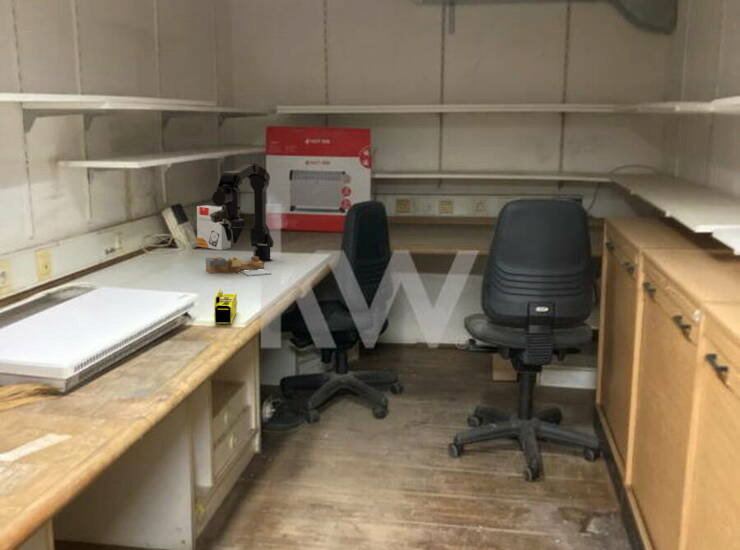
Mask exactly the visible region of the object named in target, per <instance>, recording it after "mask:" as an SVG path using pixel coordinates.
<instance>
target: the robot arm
mask: <svg viewBox="0 0 740 550" xmlns="http://www.w3.org/2000/svg"><path fill="white" fill-rule="evenodd" d="M245 179H248V180H249V185H250V187H251V189H252V191H253V203H254V204H253V205H254V206H253V207H254V208H253V209H254V211H253V212H254V224H253V226H252V227H251V228H250V236H249V239H250V244H251V247H254V249H253V257H255V256H257V257H259V260H260V261H262V262H266V261H267V262H269V261H270V262H271V261H272V259H271V248H273V247H274V244H275V243H274V239H273V238H272V236H271V230H270V228H269V226H268V225H267V222H266V221H267V217H266V216H267V215H266V213H267V210H266V191H267V190H268V187H269V185H270V180H271V175H270V174H269V172H268V170H267V169H265V168H264V167H262V166H261V165H260V164H259V163H258V162H249V161H247V162H246V163H245V164H244V165H241V166H240V167H238V168H237V169H235V170H228V171H224V172H222V173H221V176H220V179H219V182H218V184H217V187H216V191H214V193H213V194H212V196H211V197H212V198H211V199H212V202H213V204H214V206H217V207H222V210H220V211H217V212H214V213H212V214H210V217H211V220H212V222H214V223H217V222H221V223H219V224H220V225H222V226H223V227H224V230H225V233H226V237H227V241H230V240H231V241H232V243H233V244H236V243H237V242H238V240H239V238H240V235H241V234H242V231H243V229H244V228H246V227H247V222H246V220H245V219H243V218H241V216H239V215H240V214H239V212H240V211H239V210H241V206H240V205H239V202H240V201H239V198H240V196H239V195H240V194H239V193H240V192H241V189H240V188H239V187H240V186H241V185H242V184H243V180H245Z"/></svg>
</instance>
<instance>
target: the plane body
mask: <svg viewBox="0 0 740 550" xmlns="http://www.w3.org/2000/svg"><path fill="white" fill-rule="evenodd" d="M258 269H264V270H265V261H260V260H259V257H257V256H255V257H254V256H251V260H241V266H237V267H232V266H230V265H229V263H228V260H226V265H220V266H209V265H208V264H206V263H205V271H206V272H207V273H209V274H218V273H221V272H222V273H229V274H240V273H241V271H244V270H258ZM239 272H240V273H239ZM222 273H221V274H222Z"/></svg>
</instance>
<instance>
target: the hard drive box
mask: <svg viewBox="0 0 740 550" xmlns="http://www.w3.org/2000/svg"><path fill="white" fill-rule="evenodd" d="M222 207H223V206H218V205H209V204H207V205H206V204H205V205H198V206H196V247H199V248H200V247H201V248H205V249H213V250H218V251H219V250H220V251H223V250H227V249H232V248H231V247H232V245H231V244H232V239H231V240H230V241H227V237H226V233H225V230H224V227H223V226H222V225H220V224H219V223H221V222H217V223H214V222H212V220H211V217H210V214H212V213H214V212H217V211H220V210H222Z"/></svg>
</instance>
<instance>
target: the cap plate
mask: <svg viewBox="0 0 740 550" xmlns="http://www.w3.org/2000/svg"><path fill="white" fill-rule="evenodd" d="M226 261H227V259H226V258H223V257H222V256H214V257H206V258H205V265H206V264H208V265H209V266H220V265H226Z"/></svg>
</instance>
